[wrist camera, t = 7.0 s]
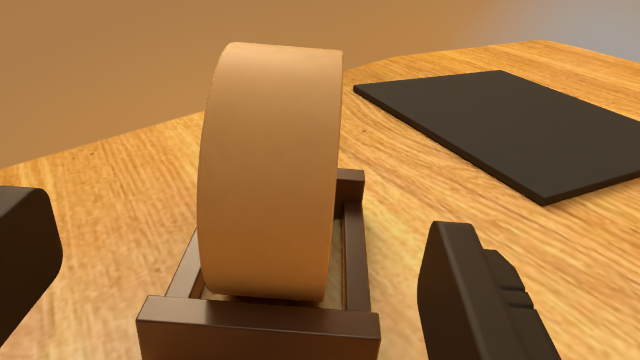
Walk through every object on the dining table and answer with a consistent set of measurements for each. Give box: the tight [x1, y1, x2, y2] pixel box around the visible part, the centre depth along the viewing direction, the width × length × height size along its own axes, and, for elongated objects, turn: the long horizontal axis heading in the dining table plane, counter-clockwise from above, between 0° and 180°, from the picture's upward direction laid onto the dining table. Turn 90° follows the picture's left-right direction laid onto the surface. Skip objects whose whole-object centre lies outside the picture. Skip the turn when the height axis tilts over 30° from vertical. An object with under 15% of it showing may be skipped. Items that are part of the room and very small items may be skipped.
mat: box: [353, 70, 640, 206], centre depth 40 cm, size 22×20×1 cm
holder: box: [136, 168, 381, 360], centre depth 20 cm, size 8×12×2 cm
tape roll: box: [197, 42, 343, 302], centre depth 19 cm, size 4×10×10 cm, turn 178°
